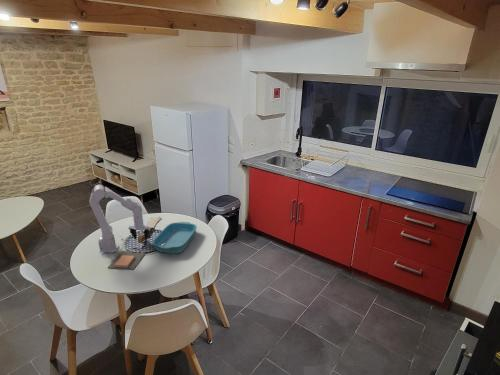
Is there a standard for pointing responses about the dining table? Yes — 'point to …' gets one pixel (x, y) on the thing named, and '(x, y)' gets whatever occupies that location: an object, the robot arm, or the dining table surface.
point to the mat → (134, 263)
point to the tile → (124, 261)
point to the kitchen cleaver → (152, 224)
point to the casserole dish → (175, 237)
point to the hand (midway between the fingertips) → (141, 239)
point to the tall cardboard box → (141, 238)
